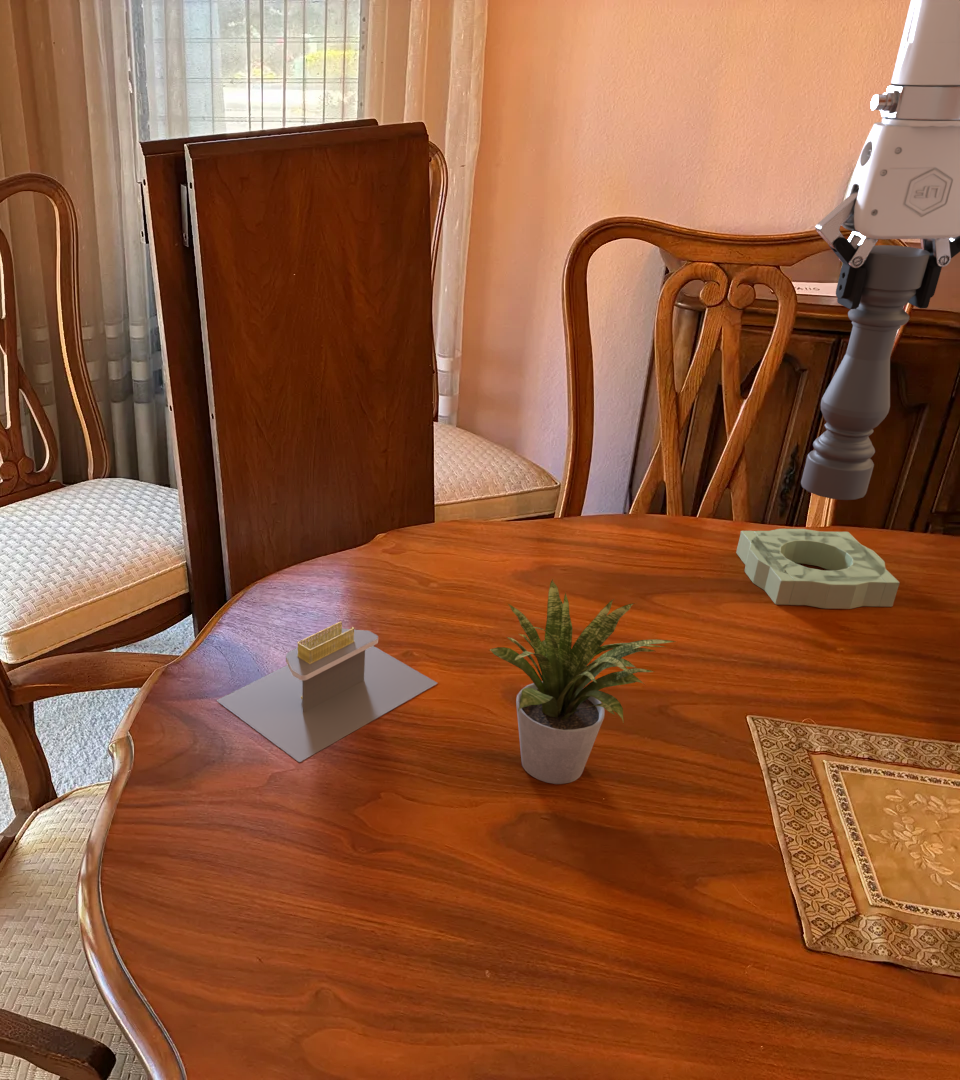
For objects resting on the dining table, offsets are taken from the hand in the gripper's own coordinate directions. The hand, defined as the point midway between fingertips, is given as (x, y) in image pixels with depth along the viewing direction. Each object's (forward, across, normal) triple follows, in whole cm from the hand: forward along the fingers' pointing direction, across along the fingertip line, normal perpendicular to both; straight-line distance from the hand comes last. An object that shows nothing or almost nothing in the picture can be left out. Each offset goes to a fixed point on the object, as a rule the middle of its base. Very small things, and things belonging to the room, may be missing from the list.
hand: (881, 303), depth 98 cm
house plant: (+31, -35, -35) cm, 59 cm away
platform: (+31, -54, -24) cm, 67 cm away
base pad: (+31, 0, 0) cm, 31 cm away
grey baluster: (+20, 0, 0) cm, 20 cm away
